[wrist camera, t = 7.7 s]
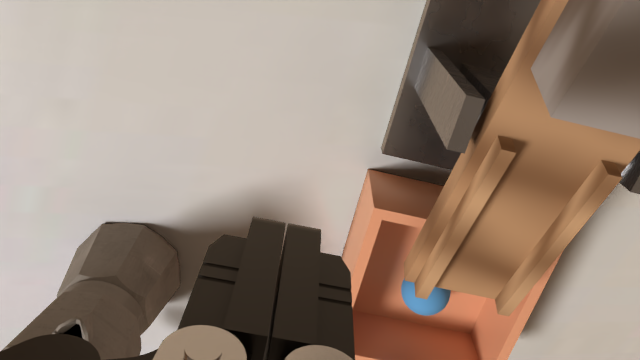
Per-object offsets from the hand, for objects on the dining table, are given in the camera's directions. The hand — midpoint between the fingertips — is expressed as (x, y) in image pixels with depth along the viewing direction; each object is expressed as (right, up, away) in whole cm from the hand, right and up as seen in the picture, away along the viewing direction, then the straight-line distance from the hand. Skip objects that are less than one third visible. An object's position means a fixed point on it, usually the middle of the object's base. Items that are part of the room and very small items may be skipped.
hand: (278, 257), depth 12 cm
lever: (+13, +3, +18) cm, 23 cm away
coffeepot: (-16, -7, +36) cm, 40 cm away
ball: (+10, -7, +32) cm, 34 cm away
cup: (+10, -5, +34) cm, 36 cm away
